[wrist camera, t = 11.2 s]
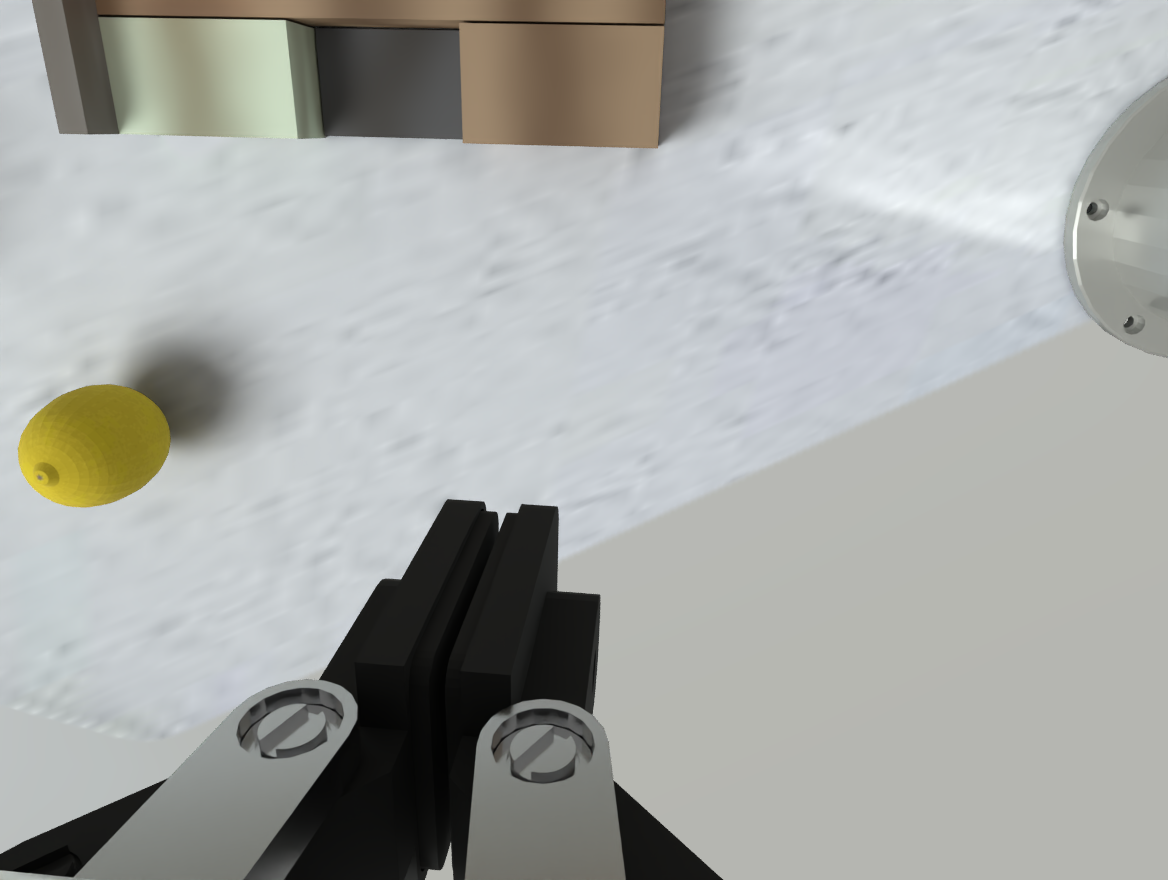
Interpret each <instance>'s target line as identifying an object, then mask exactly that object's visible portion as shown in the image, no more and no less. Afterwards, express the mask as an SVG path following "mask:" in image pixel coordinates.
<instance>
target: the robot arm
mask: <svg viewBox="0 0 1168 880" xmlns="http://www.w3.org/2000/svg"><path fill="white" fill-rule="evenodd" d="M1090 203H1091V204H1092V210H1091V211H1090V212H1089V213H1088V214H1087V208H1088V206H1089V204H1090ZM1063 245H1064V254H1065V264H1066V270H1067V273H1068V276H1069V279H1070V282H1071V285H1072V288H1073V291H1074V294H1075V295H1076V297H1077V298H1078V300H1079V302H1080V303H1081V305H1082V306H1083V308H1084V310H1085V311H1086V313H1087V314H1088V315H1089V316H1090V317H1091V318H1092V319H1093V320H1094V321H1095V322H1096V323H1097V324H1098V325H1099V326H1100V327H1101V328H1102V329H1103V330H1104V331H1105V332H1108V333H1109V334H1110V335H1112V336H1114V337H1115V338H1117V339H1119V340H1120V341H1122V342H1124V343H1125V344H1127V345H1130V346H1132V347H1135V348H1137V349H1139V350H1142V351H1144V352H1146V353H1149V354H1153V355H1157V356H1162V357H1166V358H1168V78H1167V79H1165V80H1163V81H1161V82H1160V83H1158V84H1157V85H1156V86H1154V87H1153V88H1152V89H1151V90H1149V91H1148V92H1147V93H1145V94H1144V95H1143V96H1141V97H1140V98H1139V99H1138V100H1136V101H1135V102H1134V103H1132V104H1131V105H1130V106H1129V107H1128V108H1127V109H1126V111H1125V112H1124V113H1123V114H1122V115H1121V116H1120V117H1119V118H1118V119H1117V120H1116V121H1115V122H1114V123H1113V124H1112V125H1111V126H1110V127H1109V128H1108V129H1107V131H1106V132H1105V134H1104V135H1103V137H1102V138H1101V139H1100V141H1099V142H1098V144H1097V145H1096V147H1095V148H1094V149H1093V151H1092V152H1091V154H1090V155H1089V157H1088V158H1087V161H1086V163H1085V165H1084V167H1083V169H1082V171H1081V173H1080V175H1079V177H1078V179H1077V181H1076V183H1075V185H1074V189H1073V192H1072V195H1071V199H1070V202H1069V206H1068V209H1067V213H1066V219H1065V230H1064V240H1063ZM1127 318H1128V321H1127V323H1125V321H1126V319H1127ZM1124 323H1125V324H1124ZM558 524H559V514H558V507H555V506H540V505H526V504H522V505H521V506H520V509H519V512H518V513H507V514H506V516H505V518H504V521H503V523H502V526H501V528H500V531H499V522H498V514H497V512H491V511H486V505H485V503H484V502H481V501H466V500H451V499H448V500H447V501H446V502H445V504H444V505H443V507H442V509H441V511H440V512H439V514H438V516H437V518H436V519H435V521H434V523H433V525H432V526H431V528H430V530H429V532H428V533H427V535H426V537H425V539H424V540H423V542H422V544H421V546H420V547H419V549H418V551H417V553H416V554H415V556H414V558H413V560H412V561H411V563H410V565H409V567H408V569H407V570H406V572H405V574H404V576H403V577H402V579H401V580H399V579H383V580H381V581H380V582H379V584H378V585H377V586H376V588H375V590H374V591H373V593H372V594H371V596H370V598H369V599H368V601H367V603H366V604H365V606H364V608H363V609H362V611H361V612H360V614H359V616H358V617H357V619H356V621H355V622H354V624H353V625H352V627H351V629H350V630H349V632H348V634H347V635H346V637H345V638H344V640H343V642H342V643H341V645H340V647H339V648H338V650H337V651H336V653H335V655H334V656H333V658H332V660H331V661H330V663H329V664H328V666H327V668H326V669H325V671H324V673H323V674H322V676H321V677H320V679H319V680H311V679H305V680H297V681H288V682H285V683H281V684H278V685H275V686H272V687H268V688H266V689H264V690H262V691H260V692H258V693H256V694H255V695H253V696H251V697H249V698H248V699H247V700H245V701H244V702H243V703H242V704H240V705H239V706H238V707H237V708H236V709H234V710H233V711H232V713H231V714H230V715H229V716H228V717H227V718H226V719H225V720H224V721H223V722H222V723H221V724H220V725H219V726H218V727H217V728H216V729H215V730H214V731H213V732H212V733H211V734H210V736H209V737H208V738H207V739H206V740H205V741H204V742H203V743H202V744H201V745H200V746H199V747H198V748H197V749H196V750H195V751H194V752H193V753H192V754H191V755H190V756H189V757H188V758H187V759H186V760H185V762H184V763H183V764H182V765H181V766H180V767H179V768H178V769H177V770H176V771H175V772H174V773H173V774H172V775H171V776H170V777H169V778H168V779H166V780H163V781H161V782H159V783H156V784H154V785H152V786H150V787H147V788H145V789H143V790H141V791H138V792H136V793H134V794H131V795H129V796H127V797H125V798H122V799H120V800H118V801H115V802H113V803H111V804H108V805H106V806H104V807H102V808H99V809H97V810H95V811H92V812H90V813H88V814H86V815H83V816H81V817H79V818H77V819H74V820H72V821H70V822H68V823H65V824H63V825H61V826H58V827H56V828H54V829H51V830H49V831H47V832H45V833H42V834H40V835H38V836H35V837H34V838H31V839H29V840H26V841H24V842H22V843H20V844H19V845H17V846H15V847H13V848H11V849H9V850H7V851H5V852H3V853H2V854H0V880H425V878H426V875H427V871H428V869H432V870H441V869H442V867H443V865H444V863H445V859H446V856H447V853H448V849H449V846H450V843H451V849H452V867H453V877H454V880H723V879H722V878H721V877H719V876H718V875H717V874H716V873H715V872H714V871H713V870H711V869H710V868H709V867H708V866H707V865H706V864H705V863H704V862H703V861H702V860H701V859H700V858H698V857H697V856H696V855H695V854H694V853H693V852H692V851H691V850H690V849H689V848H687V847H686V846H685V845H684V844H683V843H682V842H681V841H680V840H679V839H678V838H676V837H675V836H674V835H673V834H672V833H671V832H670V831H668V829H667V828H665V827H664V826H663V825H662V824H661V823H660V822H659V821H658V820H657V819H656V818H654V817H653V816H652V815H651V814H650V813H649V812H648V811H647V810H645V809H644V808H643V807H642V806H641V805H640V804H639V803H638V802H637V801H636V800H634V799H633V798H632V797H631V796H630V795H629V794H628V793H627V792H626V791H625V790H624V789H622V788H621V787H620V786H619V785H618V784H617V783H616V782H615V781H614V780H613V773H612V765H611V757H610V749H609V742H608V739H607V736H606V733H605V730H604V728H603V726H602V725H601V724H600V723H599V722H598V720H597V719H596V718H595V717H594V716H593V715H592V714H593V706H594V697H595V687H596V675H597V662H598V644H599V623H600V595H598V594H585V593H573V592H559V591H557V571H558V570H557V569H558Z"/></svg>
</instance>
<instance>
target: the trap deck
mask: <svg viewBox="0 0 1168 880" xmlns="http://www.w3.org/2000/svg"><path fill="white" fill-rule="evenodd" d="M32 3H33V8H34V13H35V18H36V23H37V27H38V32H39V37H40V42H41V47H42V51H43V56H44V61H45V66H46V71H47V76H48V80H49V85H50V90H51V95H52V100H53V105H54V109H55V114H56V119H57V124H58V129H59V133H60V134H140V135H177V136H215V137H252V138H290V139H305V138H326V137H325V136H358V137H396V138H434V139H463V143H476V144H514V145H551V146H589V147H626V148H658V135H659V117H660V99H661V80H662V62H663V43H664V24H665V6H666V0H32ZM307 26H324V27H385V28H445V29H459V31H454V30H394V29H335V28H315V29H314V28H311V27H307Z"/></svg>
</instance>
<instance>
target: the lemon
mask: <svg viewBox="0 0 1168 880" xmlns="http://www.w3.org/2000/svg"><path fill="white" fill-rule="evenodd" d="M170 440H171V438H170V429H169V426H168V423H167V420H166V418H165V416H164V414H163V413H162V411H161V410H160V408H159V407H158V406H157V405H156V404H155V403H154V402H153V401H152V400H151V399H149V398H148V397H146V396H145V395H143V394H142V393H140V392H138V391H135V390H133V389H131V388H128V387H123V386H118V385H111V384H107V385H92V386H86V387H82V388H79V389H76V390H74V391H71V392H68V393H66V394H63V395H61V396H59V397H57V398H56V399H54V400H53V401H52V402H50V403H49V404H48V405H46V406H45V407H44V408H43V409H42V410H40V411H39V412H38V413H37V414H36V415H35V416H34V417H33V418H32V419H31V420H30V422H29V423H28V425H27V427H26V428H25V430H24V431H23V433H22V435H21V439H20V443H19V447H18V458H19V464H20V468H21V471H22V473H23V475H24V477H25V478H26V480H27V482H28V483H29V484H30V485H31V486H32V487H33V488H34V490H36V491H37V492H38V493H40V494H41V495H42V496H43V497H45V498H47V499H49V500H51V501H53V502H55V503H59V504H62V505H65V506H71V507H93V506H99V505H104V504H108V503H112V502H115V501H117V500H120V499H122V498H124V497H126V496H128V495H130V494H132V493H134V492H136V491H137V490H139V489H141V488H142V487H143V486H145V485H146V484H147V483H148V482H149V481H150V480H151V479H152V478H153V477H154V476H155V475H156V474H157V473H158V472H159V470H160V469H161V467H162V466H163V464H164V462H165V460H166V458H167V456H168V453H169V447H170Z"/></svg>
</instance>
